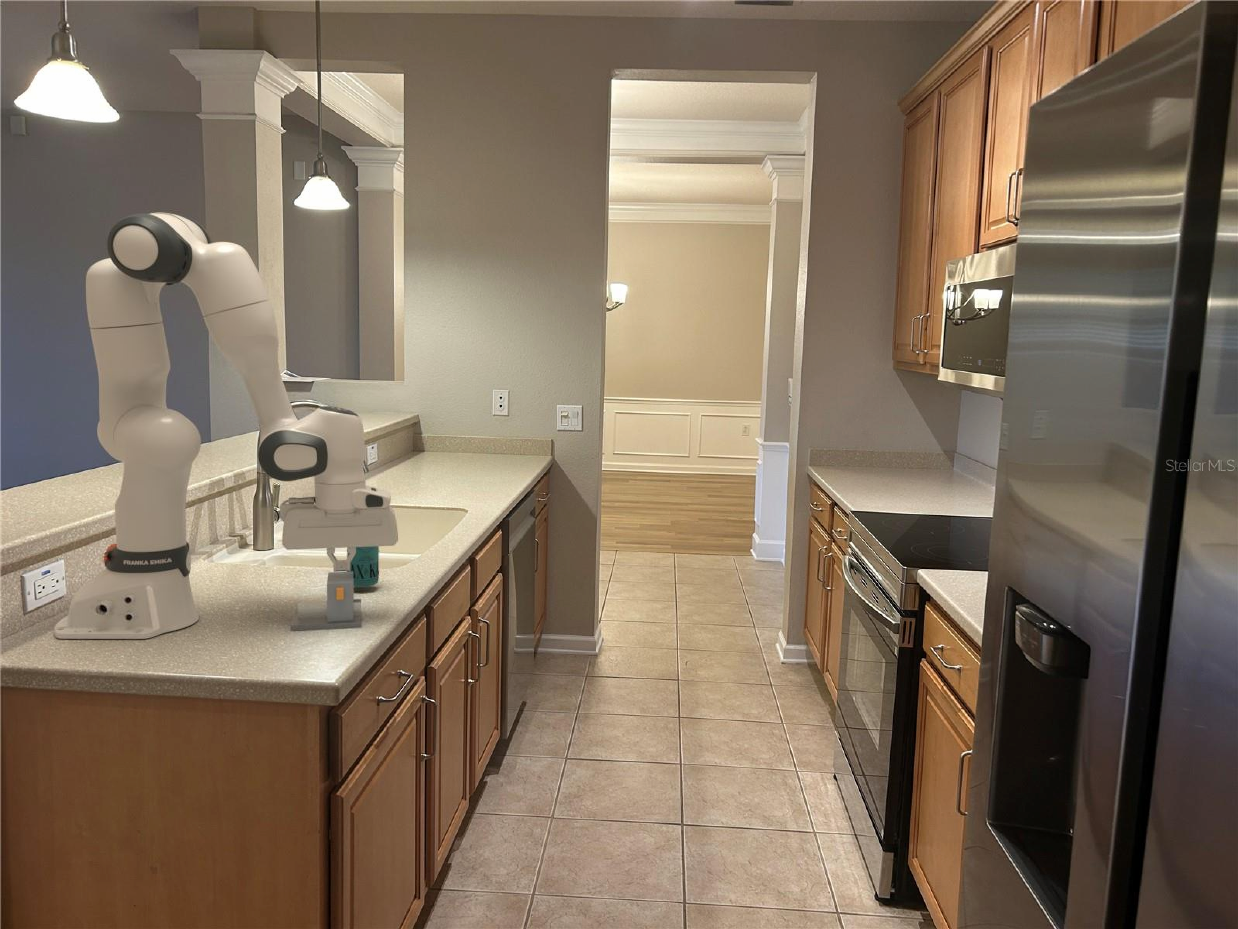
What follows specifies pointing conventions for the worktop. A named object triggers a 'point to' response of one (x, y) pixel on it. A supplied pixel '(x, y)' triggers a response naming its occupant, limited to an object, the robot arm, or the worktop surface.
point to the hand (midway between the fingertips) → (341, 570)
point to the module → (340, 596)
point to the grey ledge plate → (321, 617)
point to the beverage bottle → (365, 566)
